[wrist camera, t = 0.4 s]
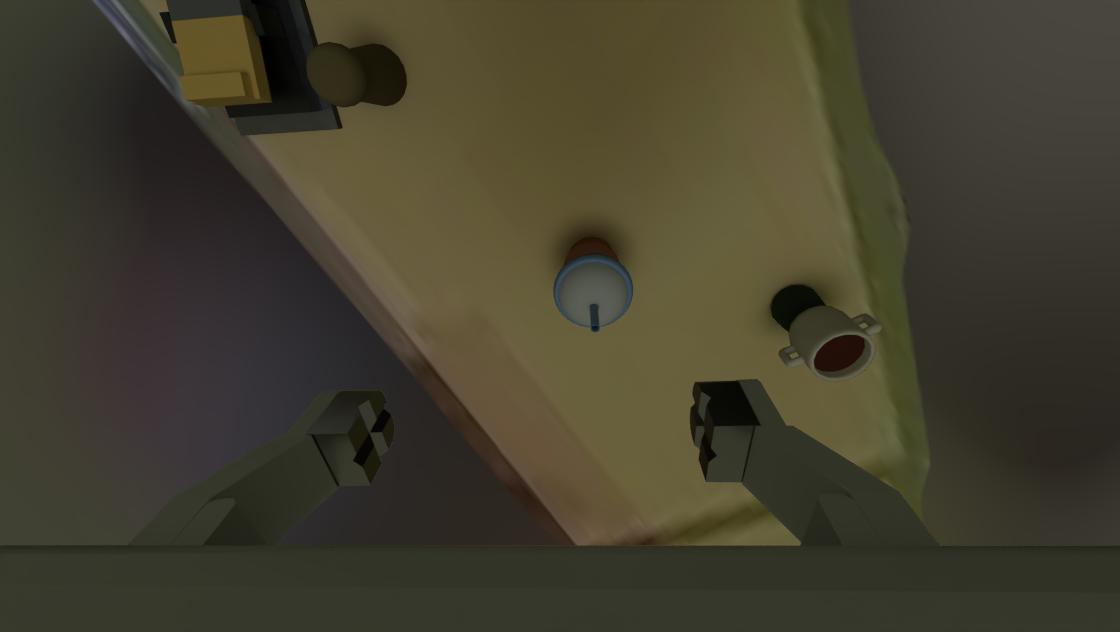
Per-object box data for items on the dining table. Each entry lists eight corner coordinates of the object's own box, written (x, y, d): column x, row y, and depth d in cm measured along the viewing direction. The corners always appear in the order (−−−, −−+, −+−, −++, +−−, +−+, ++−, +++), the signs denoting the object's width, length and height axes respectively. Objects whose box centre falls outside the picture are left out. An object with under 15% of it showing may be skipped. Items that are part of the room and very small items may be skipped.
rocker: (166, -59, 39) (134, -78, 36) (237, -66, 38) (210, -86, 35) (206, 107, 42) (180, 100, 39) (272, 102, 42) (250, 95, 39)
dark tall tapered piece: (417, 82, 47) (376, 84, 37) (382, 117, 49) (333, 127, 39) (377, 30, 44) (322, 17, 35) (341, 69, 46) (279, 67, 37)
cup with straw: (546, 243, 56) (532, 309, 40) (608, 214, 53) (620, 271, 38) (575, 298, 60) (573, 377, 44) (634, 273, 57) (655, 347, 42)
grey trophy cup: (763, 338, 62) (804, 397, 50) (745, 302, 59) (784, 356, 47) (839, 304, 58) (902, 358, 47) (824, 264, 55) (887, 312, 44)
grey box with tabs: (157, -89, 40) (87, -116, 35) (274, -102, 40) (223, -132, 34) (247, 134, 50) (204, 142, 45) (342, 128, 49) (311, 134, 44)
